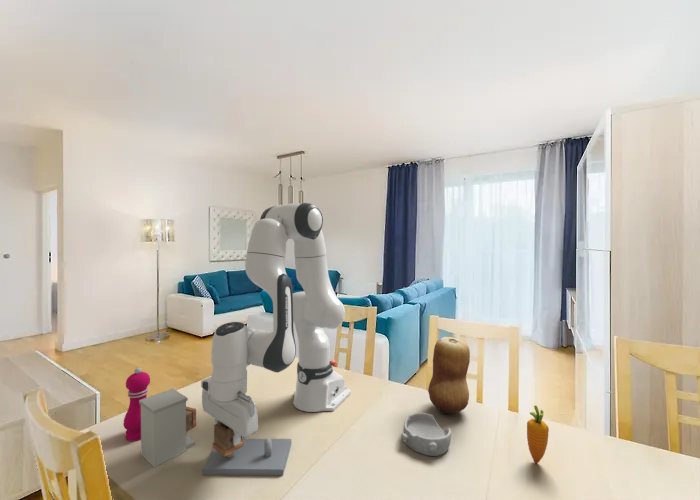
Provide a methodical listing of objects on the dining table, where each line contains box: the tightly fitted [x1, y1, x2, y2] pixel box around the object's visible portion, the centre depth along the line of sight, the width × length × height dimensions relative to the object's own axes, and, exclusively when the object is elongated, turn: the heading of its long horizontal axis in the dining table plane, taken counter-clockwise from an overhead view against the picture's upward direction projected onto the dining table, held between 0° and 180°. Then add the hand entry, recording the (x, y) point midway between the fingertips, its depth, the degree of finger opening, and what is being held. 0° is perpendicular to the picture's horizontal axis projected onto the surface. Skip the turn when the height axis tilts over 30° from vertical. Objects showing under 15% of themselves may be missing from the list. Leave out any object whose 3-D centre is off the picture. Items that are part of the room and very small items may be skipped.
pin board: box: [201, 437, 292, 476], centre depth 86 cm, size 12×20×6 cm, turn 91°
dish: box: [401, 412, 452, 457], centre depth 94 cm, size 14×14×5 cm
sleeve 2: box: [212, 422, 244, 456], centre depth 84 cm, size 6×6×6 cm
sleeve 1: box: [186, 406, 197, 433], centre depth 98 cm, size 6×6×5 cm
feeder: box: [139, 388, 196, 468], centre depth 88 cm, size 11×9×15 cm
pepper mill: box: [123, 367, 151, 442], centre depth 94 cm, size 7×7×20 cm
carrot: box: [526, 404, 550, 464], centre depth 86 cm, size 5×5×15 cm
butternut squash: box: [427, 336, 471, 414], centre depth 111 cm, size 14×13×25 cm
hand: (228, 438), depth 84 cm, fingers closed on sleeve 2, 5 cm apart
